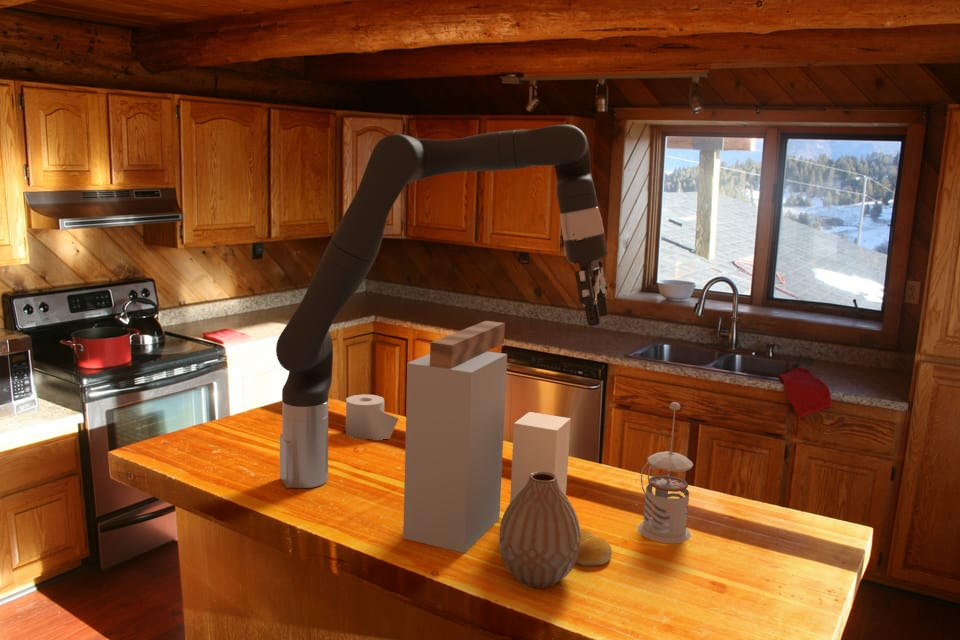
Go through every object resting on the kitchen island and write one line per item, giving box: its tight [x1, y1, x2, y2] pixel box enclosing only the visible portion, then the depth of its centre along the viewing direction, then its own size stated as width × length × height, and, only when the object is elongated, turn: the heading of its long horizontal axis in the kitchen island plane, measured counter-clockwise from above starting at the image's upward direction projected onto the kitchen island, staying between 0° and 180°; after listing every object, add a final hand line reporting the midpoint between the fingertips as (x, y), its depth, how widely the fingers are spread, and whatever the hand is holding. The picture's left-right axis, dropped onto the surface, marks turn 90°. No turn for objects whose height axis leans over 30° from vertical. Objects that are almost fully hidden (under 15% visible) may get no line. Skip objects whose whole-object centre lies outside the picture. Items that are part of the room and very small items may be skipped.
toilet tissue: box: [345, 393, 399, 441], centre depth 199 cm, size 9×13×9 cm
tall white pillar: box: [402, 351, 508, 554], centre depth 146 cm, size 16×12×32 cm
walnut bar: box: [429, 320, 506, 369], centre depth 147 cm, size 24×4×4 cm, turn 157°
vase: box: [498, 471, 581, 589], centre depth 131 cm, size 13×13×18 cm
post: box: [509, 411, 572, 504], centre depth 148 cm, size 8×8×21 cm
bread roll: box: [575, 528, 613, 567], centre depth 141 cm, size 8×9×4 cm
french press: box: [637, 401, 694, 544], centre depth 150 cm, size 10×12×25 cm
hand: (598, 320), depth 151 cm, fingers open, 8 cm apart
